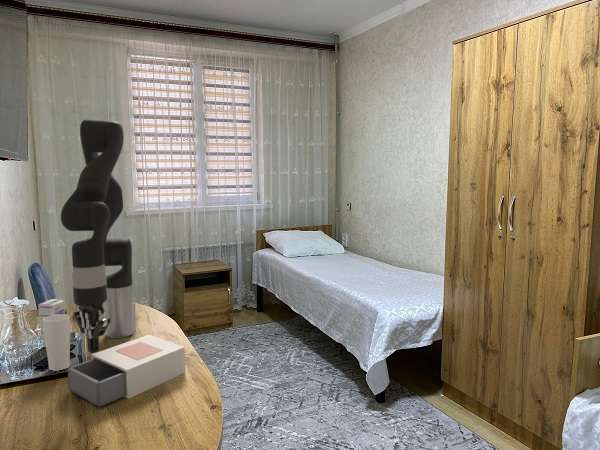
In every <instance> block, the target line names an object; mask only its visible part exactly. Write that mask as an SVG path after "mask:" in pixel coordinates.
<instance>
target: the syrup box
mask: <svg viewBox="0 0 600 450" xmlns="http://www.w3.org/2000/svg"><path fill="white" fill-rule="evenodd" d="M37 306H38V307H37V308H38V316H39V317H38V318H39V327H40V328H41V329H42V335H43V346H44V347H46V345H45V340H44V333H43V319H44V318H45V317H47V316H51V315H56V314H67V315H68V310H67V309H68V308H67V301H66V300H65V299H61V298H53V299H52V298H51V299H49V300H46V301H44V302H41V303H38V304H37ZM40 328H39V329H40Z"/></svg>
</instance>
